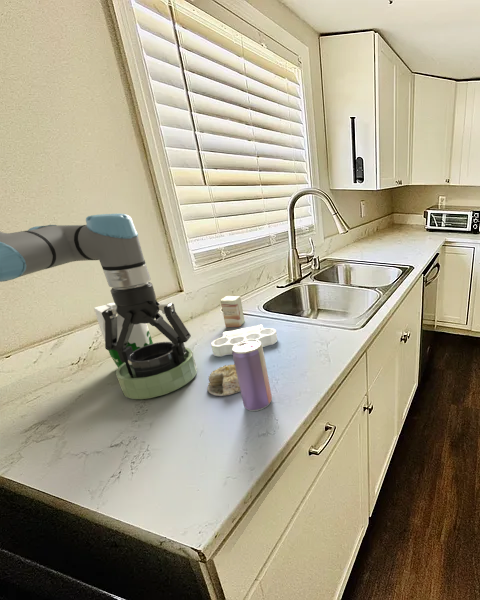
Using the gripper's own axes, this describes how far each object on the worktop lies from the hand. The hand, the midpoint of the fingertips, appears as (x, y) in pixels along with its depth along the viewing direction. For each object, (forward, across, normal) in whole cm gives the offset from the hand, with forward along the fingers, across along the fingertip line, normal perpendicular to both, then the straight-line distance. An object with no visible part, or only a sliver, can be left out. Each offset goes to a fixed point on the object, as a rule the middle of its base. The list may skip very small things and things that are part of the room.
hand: (158, 369), depth 81 cm
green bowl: (+4, 0, 0) cm, 4 cm away
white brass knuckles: (+4, +16, +16) cm, 24 cm away
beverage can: (+4, +26, -15) cm, 30 cm away
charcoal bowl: (0, 0, 0) cm, 0 cm away
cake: (+4, +17, -5) cm, 18 cm away
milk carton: (+4, -10, +10) cm, 15 cm away
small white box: (+4, +10, +33) cm, 34 cm away
